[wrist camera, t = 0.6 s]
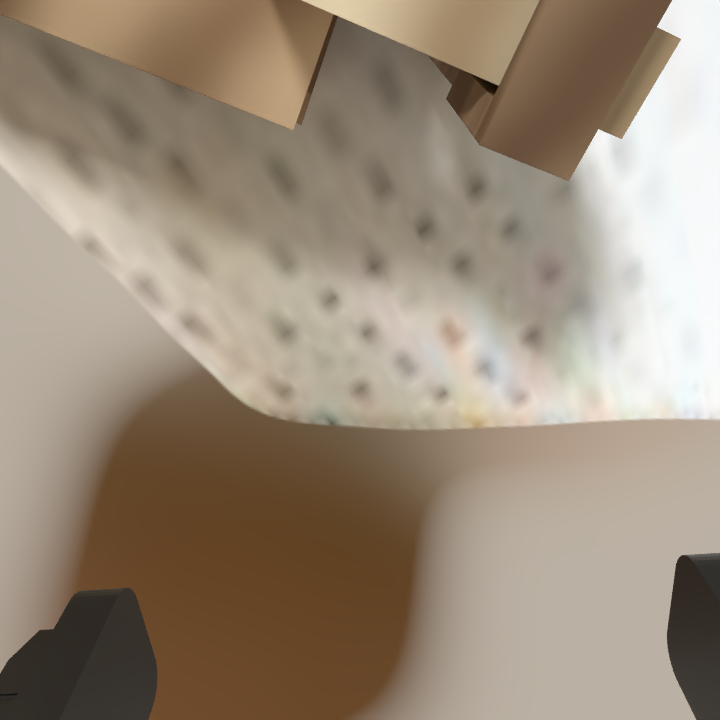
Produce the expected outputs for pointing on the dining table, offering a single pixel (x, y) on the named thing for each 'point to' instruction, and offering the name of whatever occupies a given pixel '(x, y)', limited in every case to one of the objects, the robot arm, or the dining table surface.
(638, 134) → the dining table surface
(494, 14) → the wooden key
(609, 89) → the brown wooden blocky piece
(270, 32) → the lid
